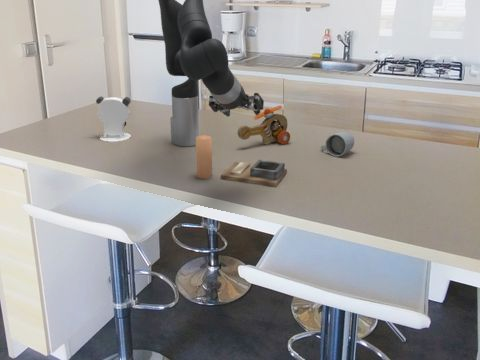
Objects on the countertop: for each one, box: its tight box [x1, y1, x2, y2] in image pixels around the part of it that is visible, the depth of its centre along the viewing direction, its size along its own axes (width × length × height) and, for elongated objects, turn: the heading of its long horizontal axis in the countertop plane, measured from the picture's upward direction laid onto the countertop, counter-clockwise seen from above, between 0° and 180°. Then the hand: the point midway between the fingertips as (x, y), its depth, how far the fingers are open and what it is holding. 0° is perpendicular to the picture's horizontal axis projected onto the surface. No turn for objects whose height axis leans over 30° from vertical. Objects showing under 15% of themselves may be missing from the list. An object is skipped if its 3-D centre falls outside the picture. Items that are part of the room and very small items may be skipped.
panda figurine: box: [95, 96, 132, 143], centre depth 178 cm, size 12×11×15 cm
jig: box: [220, 159, 288, 188], centre depth 146 cm, size 17×12×4 cm
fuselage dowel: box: [195, 134, 213, 180], centre depth 144 cm, size 5×5×12 cm
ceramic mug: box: [320, 131, 355, 157], centre depth 166 cm, size 11×8×8 cm
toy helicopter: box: [237, 105, 291, 145], centre depth 172 cm, size 8×21×14 cm, turn 123°
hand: (243, 112), depth 138 cm, fingers open, 8 cm apart
